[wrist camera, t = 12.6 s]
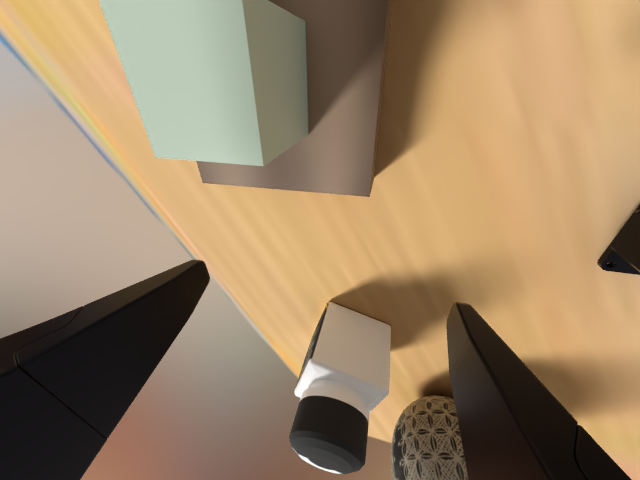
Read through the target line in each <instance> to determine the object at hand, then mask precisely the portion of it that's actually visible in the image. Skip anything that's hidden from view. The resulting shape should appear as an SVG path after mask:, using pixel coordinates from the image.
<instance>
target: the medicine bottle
mask: <svg viewBox="0 0 640 480" xmlns="http://www.w3.org/2000/svg"><path fill="white" fill-rule="evenodd" d="M390 345H391V327H390V325H388V324H385V323H383V322H380V321H378V320H375V319H373V318H370V317H368V316H365V315H363V314H360V313H358V312H355V311H353V310H350V309H348V308H345V307H342V306H340V305H337V304H335V303H332V302H328V303H327V304H326V307H325V309H324V311H323V314H322V316H321V318H320V320H319V323H318V325H317V327H316V329H315V332H314V334H313V336H312V339H311V342H310V345H309V348H308V351H307V354H306V357H305V361H304V364H303V367H302V370H301V373H300V376H299V379H298V382H297V385H296V388H295V392H294V393H295V395H296V396H298V397H300V398H301V399H300V403H299V406H298V410H297V412H296V416H295V419H294V422H293V426H292V429H291V432H290V436H289V439H290V443H291V446H292V448H293V449H294V450H295V451H296V453H297V454H298V455H299V456H300V457H301V458H302V459H303V460H305V461H306V462H308V463H309V464H311V465H313V466H315V467H317V468H320V469H323V470H326V471H329V472H333V473H339V474H348V473H351V472H355V471H358V470H360V469H361V468H362V466H363V465H364V464H365V457H366V446H367V434H368V423H369V412H370V411H371V410H373V409H374V408H375V407H376V406H377V405H378V404H379V403H380V402H381V401H382V400H383V399H384V398H385V397H386V396H387V395H388V393H389V377H390Z"/></svg>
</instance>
